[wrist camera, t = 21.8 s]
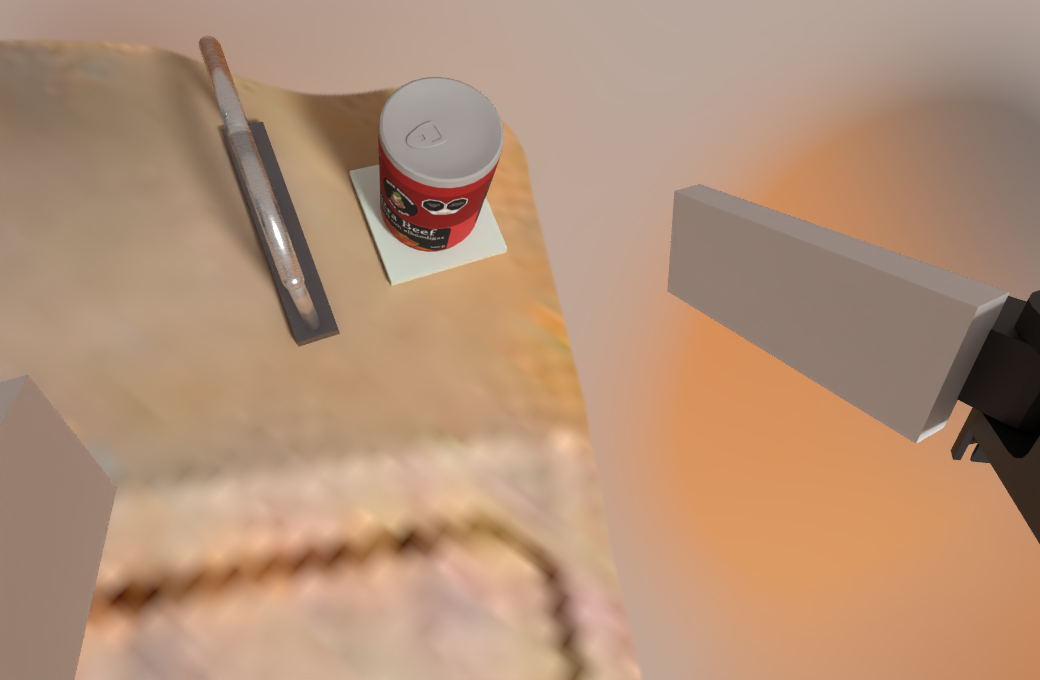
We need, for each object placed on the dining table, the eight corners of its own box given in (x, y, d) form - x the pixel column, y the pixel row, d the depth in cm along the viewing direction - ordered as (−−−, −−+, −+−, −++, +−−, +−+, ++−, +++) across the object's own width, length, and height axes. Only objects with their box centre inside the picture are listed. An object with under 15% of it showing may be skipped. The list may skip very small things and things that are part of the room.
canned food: (359, 209, 42) (351, 120, 32) (429, 152, 45) (442, 53, 34) (430, 274, 42) (445, 207, 32) (495, 214, 45) (528, 133, 34)
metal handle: (299, 346, 39) (259, 285, 27) (226, 138, 42) (159, -4, 29) (339, 333, 40) (319, 268, 28) (265, 131, 43) (217, -10, 30)
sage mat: (391, 285, 42) (391, 282, 41) (349, 176, 43) (349, 170, 43) (505, 252, 45) (507, 248, 44) (463, 151, 46) (464, 146, 46)
